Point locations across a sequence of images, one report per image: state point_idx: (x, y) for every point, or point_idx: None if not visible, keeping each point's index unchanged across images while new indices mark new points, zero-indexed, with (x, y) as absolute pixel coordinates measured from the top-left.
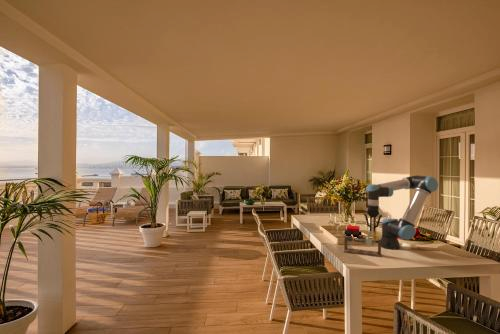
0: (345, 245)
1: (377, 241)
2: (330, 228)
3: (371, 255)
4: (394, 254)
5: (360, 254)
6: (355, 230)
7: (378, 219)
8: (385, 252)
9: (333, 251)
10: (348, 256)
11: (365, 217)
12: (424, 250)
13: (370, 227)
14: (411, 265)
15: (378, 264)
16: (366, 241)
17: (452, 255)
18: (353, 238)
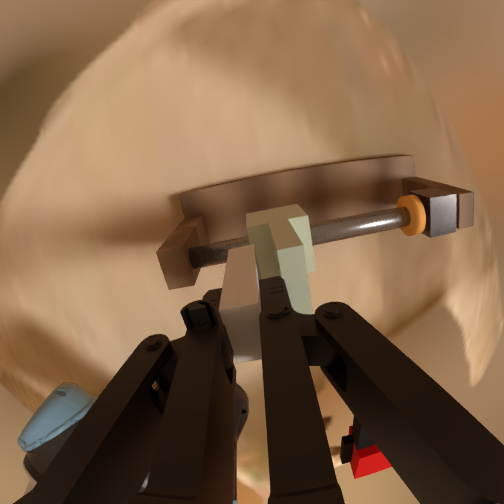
0: (426, 181)
1: (195, 250)
2: None
3: (241, 179)
4: (136, 297)
5: (313, 166)
6: (372, 447)
7: (79, 472)
8: None
9: (450, 145)
10: (366, 87)
11: (494, 436)
12: None
13: (280, 304)
14: (37, 163)
15: (169, 46)
16: (296, 209)
17: (23, 377)
18: (415, 201)
